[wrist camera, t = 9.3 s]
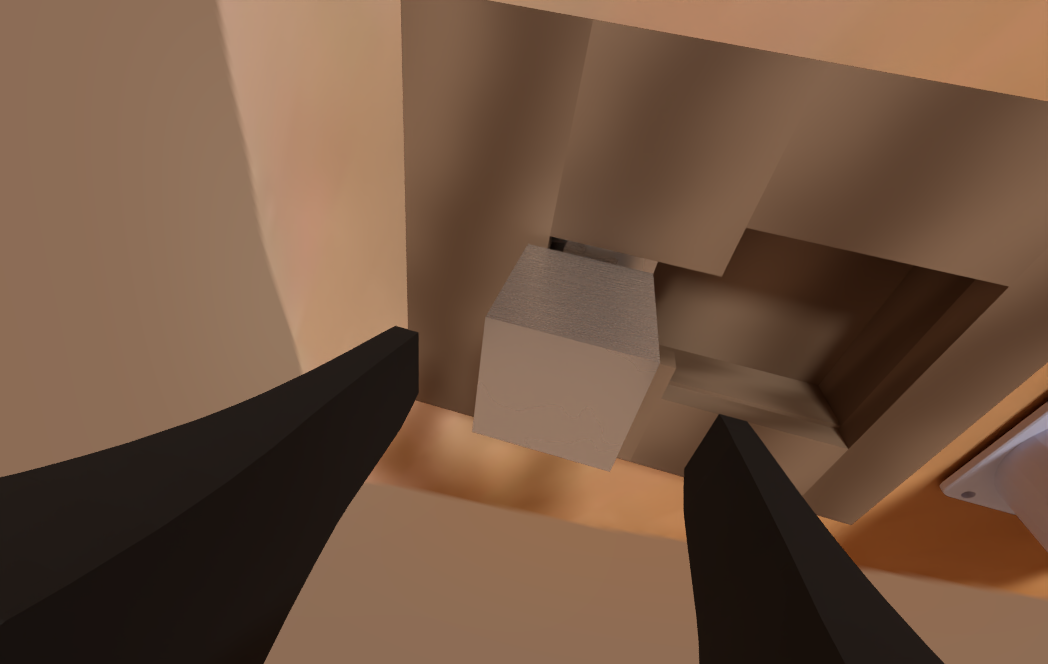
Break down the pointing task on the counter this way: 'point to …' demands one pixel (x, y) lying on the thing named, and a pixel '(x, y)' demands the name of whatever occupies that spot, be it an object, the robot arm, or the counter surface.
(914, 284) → the keyhole plate
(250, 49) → the counter surface
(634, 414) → the keyed peg
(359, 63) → the counter surface
